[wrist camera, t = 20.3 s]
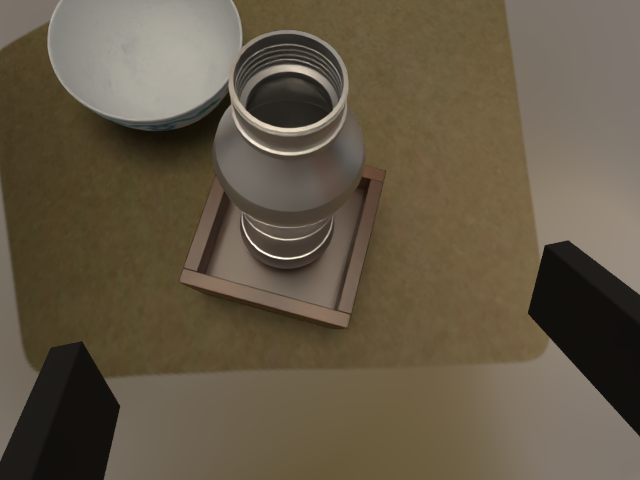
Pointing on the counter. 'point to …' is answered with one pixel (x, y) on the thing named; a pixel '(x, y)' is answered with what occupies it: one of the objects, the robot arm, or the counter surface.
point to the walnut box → (285, 284)
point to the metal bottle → (288, 146)
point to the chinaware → (145, 57)
